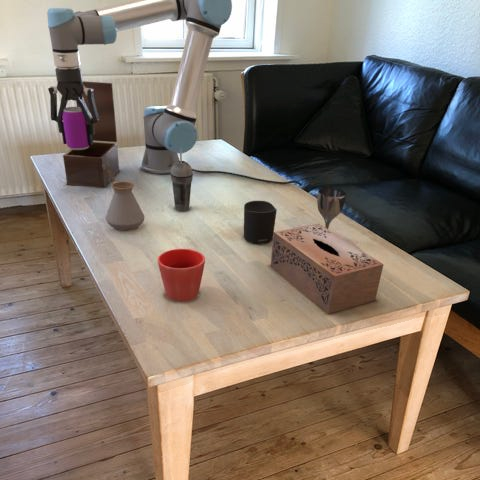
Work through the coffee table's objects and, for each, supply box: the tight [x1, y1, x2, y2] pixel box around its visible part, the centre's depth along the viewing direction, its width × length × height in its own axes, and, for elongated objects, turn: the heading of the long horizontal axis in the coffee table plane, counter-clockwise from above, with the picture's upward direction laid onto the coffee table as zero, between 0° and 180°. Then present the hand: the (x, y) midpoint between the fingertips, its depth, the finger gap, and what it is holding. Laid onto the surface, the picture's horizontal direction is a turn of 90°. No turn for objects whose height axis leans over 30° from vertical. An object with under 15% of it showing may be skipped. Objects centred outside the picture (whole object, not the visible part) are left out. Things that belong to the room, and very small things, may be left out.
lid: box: [75, 80, 118, 143], centre depth 189 cm, size 20×14×7 cm
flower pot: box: [157, 248, 206, 303], centre depth 121 cm, size 11×11×10 cm
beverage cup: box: [169, 148, 194, 212], centre depth 164 cm, size 7×7×20 cm
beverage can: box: [62, 106, 90, 150], centre depth 166 cm, size 8×8×12 cm
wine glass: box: [316, 186, 347, 230], centre depth 149 cm, size 8×8×15 cm
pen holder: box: [243, 200, 278, 245], centre depth 150 cm, size 9×9×10 cm
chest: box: [62, 141, 120, 188], centre depth 187 cm, size 19×14×10 cm
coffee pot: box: [102, 163, 145, 232], centre depth 154 cm, size 21×12×15 cm, turn 30°
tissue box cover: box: [270, 223, 384, 315], centre depth 129 cm, size 26×14×10 cm, turn 29°
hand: (78, 143), depth 169 cm, fingers closed on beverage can, 8 cm apart
